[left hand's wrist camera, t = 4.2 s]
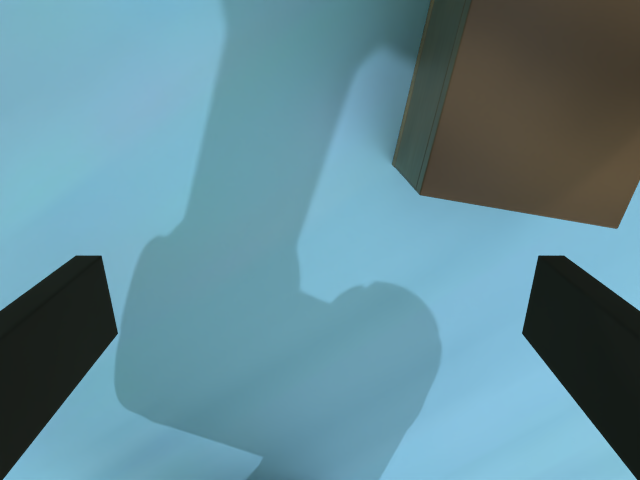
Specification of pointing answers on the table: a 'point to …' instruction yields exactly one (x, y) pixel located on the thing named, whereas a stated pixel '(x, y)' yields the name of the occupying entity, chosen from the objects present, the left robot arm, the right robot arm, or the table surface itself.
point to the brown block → (527, 107)
